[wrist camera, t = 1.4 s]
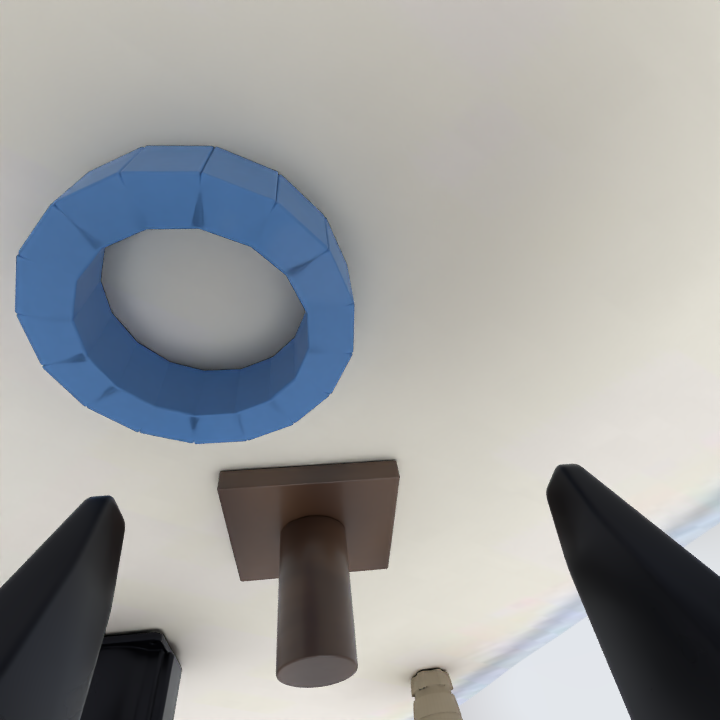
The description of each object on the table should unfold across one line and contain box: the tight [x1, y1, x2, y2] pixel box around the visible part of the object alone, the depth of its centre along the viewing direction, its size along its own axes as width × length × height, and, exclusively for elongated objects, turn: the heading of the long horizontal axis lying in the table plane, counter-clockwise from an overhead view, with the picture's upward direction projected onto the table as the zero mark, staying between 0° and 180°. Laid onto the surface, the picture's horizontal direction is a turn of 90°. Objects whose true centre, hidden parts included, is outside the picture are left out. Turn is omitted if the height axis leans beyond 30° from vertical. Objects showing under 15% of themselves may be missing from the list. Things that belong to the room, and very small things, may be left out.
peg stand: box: [217, 460, 400, 688], centre depth 21 cm, size 8×8×7 cm
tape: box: [15, 146, 354, 444], centre depth 15 cm, size 9×9×2 cm
